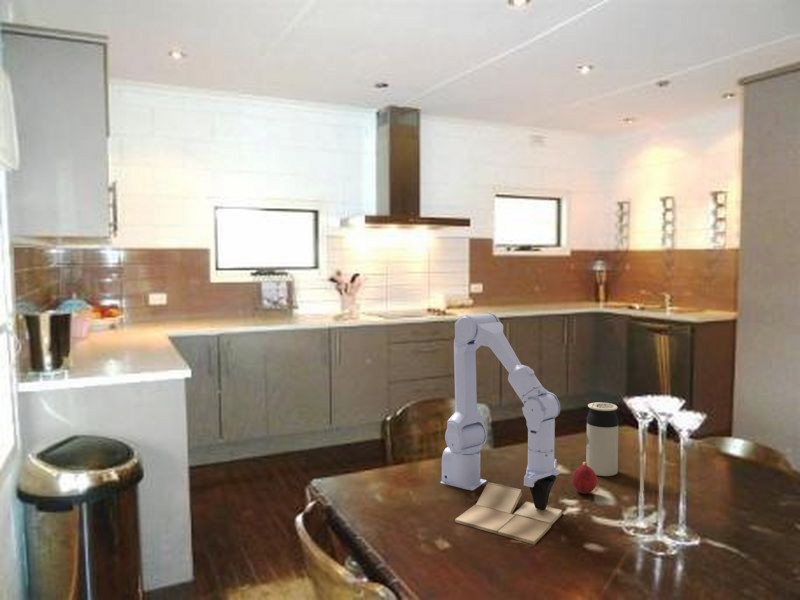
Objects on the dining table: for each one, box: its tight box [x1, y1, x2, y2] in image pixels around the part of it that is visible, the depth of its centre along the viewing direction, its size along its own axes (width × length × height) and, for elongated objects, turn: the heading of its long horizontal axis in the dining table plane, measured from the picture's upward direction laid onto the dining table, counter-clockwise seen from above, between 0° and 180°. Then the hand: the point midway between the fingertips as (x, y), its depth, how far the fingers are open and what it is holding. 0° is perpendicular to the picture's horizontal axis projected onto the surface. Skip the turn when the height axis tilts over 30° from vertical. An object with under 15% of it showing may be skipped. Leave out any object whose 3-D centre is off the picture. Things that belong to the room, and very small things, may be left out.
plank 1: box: [475, 481, 523, 515], centre depth 134 cm, size 8×7×1 cm
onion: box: [571, 461, 598, 495], centre depth 141 cm, size 6×6×8 cm
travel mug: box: [585, 401, 619, 477], centre depth 156 cm, size 8×8×18 cm
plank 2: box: [513, 500, 563, 526], centre depth 129 cm, size 8×7×1 cm
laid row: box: [454, 504, 552, 546], centre depth 125 cm, size 18×9×1 cm, turn 55°
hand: (540, 508), depth 130 cm, fingers closed
